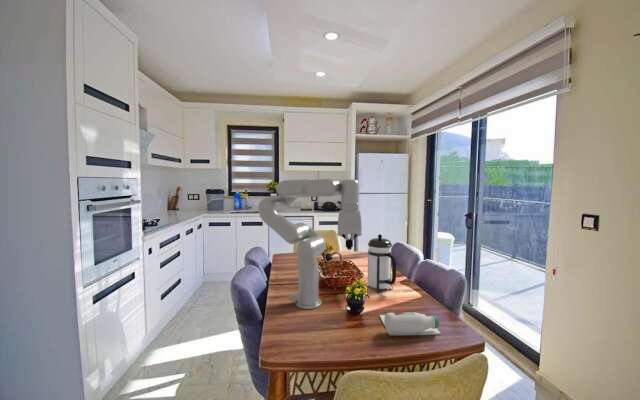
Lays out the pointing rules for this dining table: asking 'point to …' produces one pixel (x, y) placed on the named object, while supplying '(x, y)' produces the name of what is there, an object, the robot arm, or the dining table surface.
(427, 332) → the mat
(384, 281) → the coffee press
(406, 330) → the milk bottle
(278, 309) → the dining table surface
